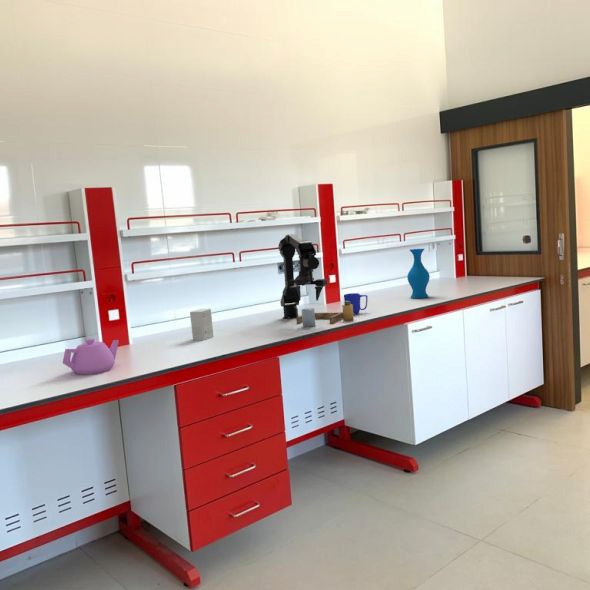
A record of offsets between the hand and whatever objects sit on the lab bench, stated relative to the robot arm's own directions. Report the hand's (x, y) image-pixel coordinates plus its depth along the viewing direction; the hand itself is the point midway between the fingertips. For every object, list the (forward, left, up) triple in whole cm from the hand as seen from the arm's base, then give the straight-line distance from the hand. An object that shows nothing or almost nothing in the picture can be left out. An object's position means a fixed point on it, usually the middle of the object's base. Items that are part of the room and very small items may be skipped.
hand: (308, 300), depth 289 cm
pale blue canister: (+1, -2, -12) cm, 12 cm away
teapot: (-47, -93, -12) cm, 105 cm away
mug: (+12, +32, -12) cm, 36 cm away
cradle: (+1, +9, -12) cm, 14 cm away
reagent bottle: (+15, +12, -12) cm, 22 cm away
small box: (-38, -34, -12) cm, 52 cm away
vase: (+31, +86, -12) cm, 92 cm away
